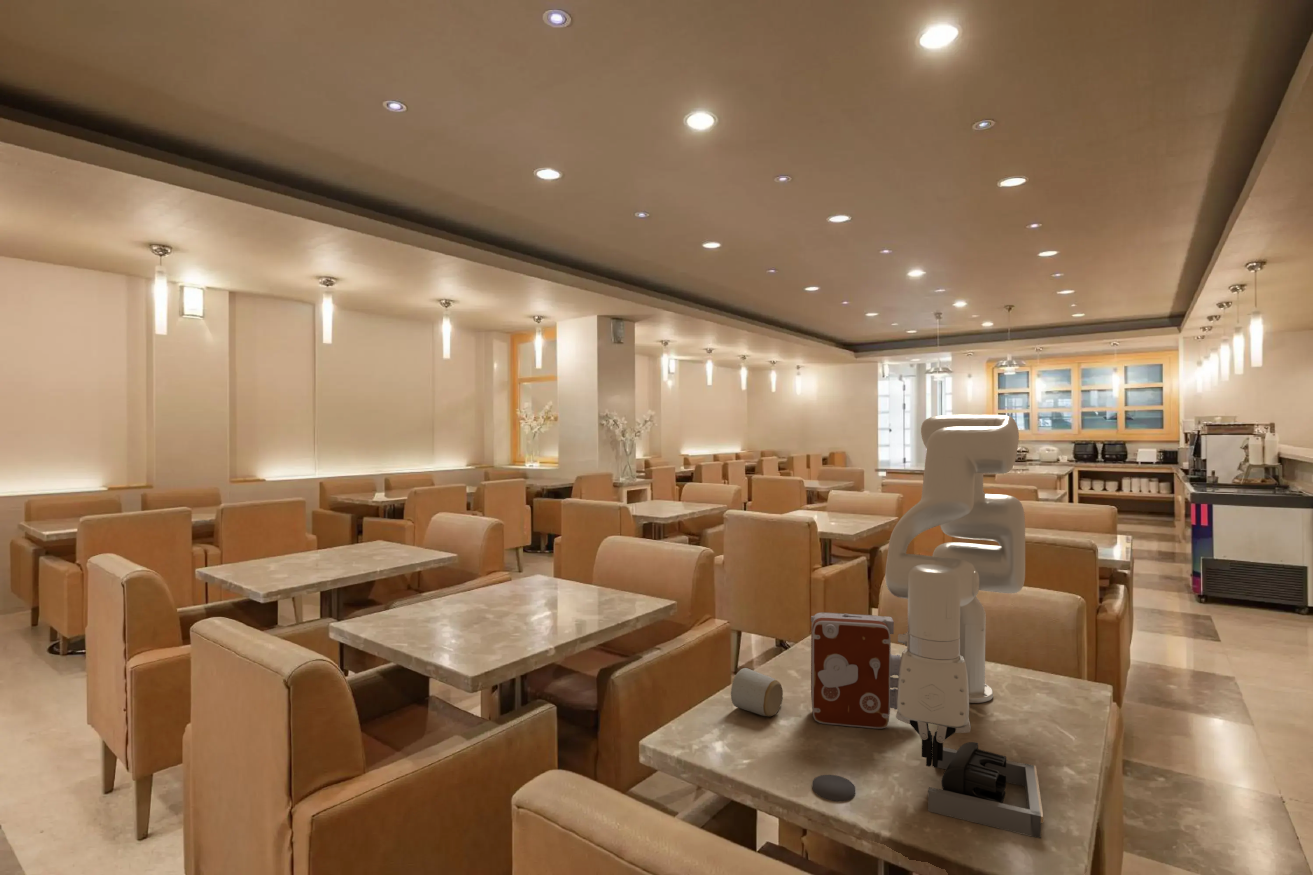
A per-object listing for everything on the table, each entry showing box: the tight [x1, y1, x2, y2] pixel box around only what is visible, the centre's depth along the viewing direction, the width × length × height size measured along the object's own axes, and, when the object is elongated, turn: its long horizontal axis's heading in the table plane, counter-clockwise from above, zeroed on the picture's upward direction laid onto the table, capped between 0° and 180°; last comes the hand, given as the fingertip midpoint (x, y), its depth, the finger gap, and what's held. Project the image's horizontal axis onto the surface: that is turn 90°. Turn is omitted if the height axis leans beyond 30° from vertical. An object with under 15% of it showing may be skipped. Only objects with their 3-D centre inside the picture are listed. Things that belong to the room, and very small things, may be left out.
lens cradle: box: [927, 746, 1044, 839], centre depth 100 cm, size 15×14×3 cm
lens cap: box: [811, 774, 856, 802], centre depth 102 cm, size 6×6×1 cm
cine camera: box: [810, 611, 902, 729], centre depth 126 cm, size 9×19×20 cm, turn 78°
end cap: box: [941, 741, 1007, 804], centre depth 100 cm, size 10×7×7 cm
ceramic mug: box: [730, 667, 784, 717], centre depth 132 cm, size 11×8×8 cm
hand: (932, 762), depth 103 cm, fingers closed
